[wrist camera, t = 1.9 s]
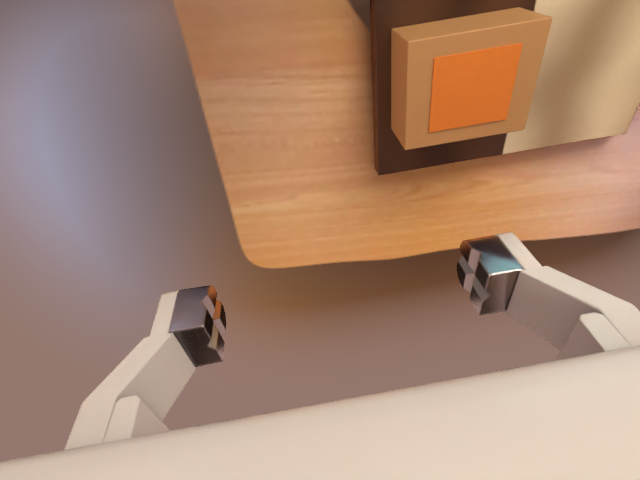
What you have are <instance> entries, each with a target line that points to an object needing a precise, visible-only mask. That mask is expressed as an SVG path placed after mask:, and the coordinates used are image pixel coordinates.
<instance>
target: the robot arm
mask: <svg viewBox="0 0 640 480" xmlns="http://www.w3.org/2000/svg"><path fill="white" fill-rule="evenodd" d="M460 252H461V253H462V256H461V257H460V259H459V260H458V262H457V272H458V277H459V280H460V283H461V285H462V286H463V288H464V289H466V290H467V291H469V292H471V295H470V301H471V302H472V304H473V306H474V307H475V309H476V311H477V313H478V314H479V315H484V314H491V313H497V312H504V311H506V313H507V314H509V315H510V316H512V317H513V318H514V319H516V320H517V321H519V322H520V323H522V324H523V325H524V326H526V327H527V328H529V329H530V330H532V331H533V332H534V333H536V334H537V335H539V336H540V337H542V338H543V339H544V340H546V341H547V342H549V343H550V344H552V345H553V346H555V347H556V348H557V349H559V350H560V353H559V355H558V357H557V358H556V360H555V361H550V362H545V363H539V364H533V365H528V366H522V367H517V368H511V369H506V370H501V371H495V372H490V373H484V374H479V375H473V376H468V377H462V378H457V379H452V380H446V381H441V382H435V383H430V384H424V385H419V386H413V387H407V388H402V389H397V390H391V391H386V392H380V393H375V394H369V395H364V396H359V397H353V398H348V399H342V400H336V401H331V402H326V403H320V404H315V405H309V406H304V407H298V408H293V409H287V410H282V411H276V412H271V413H265V414H260V415H254V416H249V417H244V418H238V419H232V420H227V421H221V422H216V423H211V424H205V425H199V426H194V427H188V428H183V429H178V430H172V431H170V430H169V429H168V428H167V426H166V425H165V424H164V423H163V422H162V420H163V419H164V417H165V416H166V414H167V413H168V411H169V410H170V408H171V406H172V405H173V403H174V402H175V400H176V399H177V397H178V396H179V394H180V393H181V391H182V389H183V388H184V386H185V385H186V383H187V382H188V380H189V379H190V377H191V376H192V374H193V372H194V371H195V369H196V368H195V367H198V366H203V365H207V364H213V363H217V362H222V361H223V352H224V341H223V339H222V337H221V336H222V335H223V333H224V332H225V331H226V317H225V312H224V308H223V305H222V303H221V302H220V301H218V300H216V296H217V292H216V290H215V288H214V287H213V286H203V287H197V288H190V289H184V290H179V291H173V292H166V293H163V294H162V296H161V297H160V300H159V304H158V308H157V311H156V315H155V318H154V322H153V326H152V329H151V333H150V336H149V337H146V338H144V339H143V340H142V341H141V342H140V343H139V344H138V345H137V346H136V347H135V348H134V349H133V350H132V351H131V352H130V354H128V356H127V357H126V358H125V359H124V360H123V361H122V362H121V363H120V364H119V365H118V366H117V367H116V368H115V369H114V370H113V371H112V372H111V374H109V375H108V377H106V379H105V380H104V381H103V382H102V383H101V384H100V385H99V386H98V387H97V388H96V389H95V390H94V391H93V392H92V393H91V394H90V395H89V396H88V397H87V398H86V399H85V400H84V402H83V403H82V404H81V407H80V410H79V412H78V415H77V418H76V420H75V423H74V425H73V428H72V430H71V433H70V436H69V438H68V441H67V444H66V446H65V449H64V450H62V451H57V452H51V453H46V454H40V455H35V456H29V457H24V458H18V459H13V460H7V461H2V462H0V480H640V311H639V310H638V309H637V308H636V307H635V306H634V305H632V304H631V303H629V302H626V301H624V300H622V299H620V298H617V297H615V296H613V295H611V294H609V293H606V292H604V291H602V290H600V289H597V288H595V287H593V286H591V285H588V284H586V283H584V282H582V281H580V280H577V279H575V278H573V277H571V276H568V275H566V274H564V273H562V272H559V271H557V270H555V269H553V268H551V267H548V266H544V267H542V266H541V265H540V263H539V262H538V261H537V260H536V259H535V258H534V256H533V255H532V254H531V253H530V252H529V251H528V250H527V248H526V247H525V246H524V245H523V244H522V242H521V241H520V240H519V239H518V238H517V237H516V235H515V234H514V233H512V232H507V233H502V234H496V235H491V236H486V237H480V238H475V239H470V240H464V241H462V243H461V245H460Z"/></svg>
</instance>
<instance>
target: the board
mask: <svg viewBox="0 0 640 480" xmlns="http://www.w3.org/2000/svg"><path fill="white" fill-rule="evenodd" d="M517 7H520V8H523V9H527V10H530V11H533V12H537V13H540V14H544V15H547V16H550V17H552V23H551V27H550V31H549V35H548V39H547V43H546V47H545V51H544V55H543V58H542V62H541V66H540V70H539V74H538V78H537V82H536V86H535V90H534V94H533V98H532V102H531V106H530V110H529V114H528V118H527V122H526V126H525V129H524V130H521V131H516V132H510V133H504V134H498V135H492V136H486V137H480V138H474V139H469V140H463V141H457V142H451V143H445V144H439V145H433V146H427V147H422V148H416V149H410V150H405V149H404V148H403V146H402V145H401V143H400V142H399V140H398V138H397V137H396V135H395V134H394V132H393V131H392V129H391V30H392V29H393V28H398V27H404V26H410V25H416V24H422V23H428V22H434V21H440V20H446V19H452V18H458V17H464V16H469V15H475V14H481V13H487V12H493V11H499V10H505V9H511V8H517ZM370 12H371V13H370V16H371V48H372V80H373V113H374V145H375V169H376V171H377V173H378V175H384V174H390V173H396V172H401V171H407V170H413V169H419V168H425V167H431V166H437V165H442V164H448V163H454V162H460V161H466V160H472V159H478V158H484V157H489V156H495V155H501V154H508V153H514V152H519V151H525V150H531V149H537V148H543V147H549V146H555V145H561V144H566V143H572V142H578V141H584V140H590V139H596V138H602V137H607V136H613V135H619V134H625V133H626V131H627V129H628V127H629V125H630V122H631V120H632V118H633V116H634V113H635V111H636V109H637V107H638V104H639V102H640V0H370Z"/></svg>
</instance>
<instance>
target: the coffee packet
mask: <svg viewBox="0 0 640 480" xmlns="http://www.w3.org/2000/svg"><path fill="white" fill-rule="evenodd" d="M551 23H552V17H550V16H547V15H544V14H540V13H537V12H533V11H530V10H527V9H523V8H520V7H517V8H511V9H505V10H499V11H493V12H487V13H481V14H475V15H469V16H464V17H458V18H452V19H446V20H440V21H434V22H428V23H422V24H416V25H410V26H404V27H398V28H393V29H392V30H391V129H392V131H393V132H394V134H395V135H396V137H397V138H398V140H399V142H400V143H401V145H402V146H403V148H404V149H405V150H410V149H416V148H422V147H427V146H433V145H439V144H445V143H451V142H457V141H463V140H469V139H474V138H480V137H486V136H492V135H498V134H504V133H510V132H516V131H521V130H524V129H525V126H526V122H527V118H528V114H529V110H530V106H531V102H532V98H533V94H534V90H535V86H536V82H537V78H538V74H539V70H540V66H541V62H542V58H543V55H544V51H545V47H546V43H547V39H548V35H549V31H550V27H551Z"/></svg>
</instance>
